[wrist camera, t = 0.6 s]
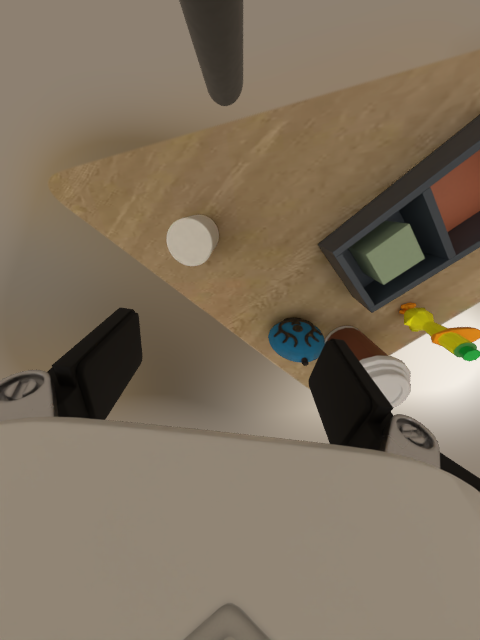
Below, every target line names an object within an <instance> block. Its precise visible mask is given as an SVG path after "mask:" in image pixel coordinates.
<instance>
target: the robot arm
mask: <svg viewBox="0 0 480 640" xmlns="http://www.w3.org/2000/svg"><path fill="white" fill-rule="evenodd" d="M141 362H142V348H141V337H140V326H139V316H138V313H135V311H134V310H133V309H127V308H119V309H118V310H116V311H115V312H114V313H113V314H112V315H111V316H109V317H108V318H107V319H106V320H105V321H104V322H102V323H101V324H100V325H99V326H98V327H96V328H95V329H94V330H93V331H92V332H91V333H89V334H88V335H87V336H86V337H85V338H83V339H82V340H81V341H80V342H79V343H78V344H76V345H75V346H74V347H73V348H72V349H71V350H69V351H68V352H67V353H66V354H65V355H64V356H62V357H61V358H60V359H59V360H58V361H57V362H55V363H54V364H53V365H52V368H51V369H50V370H49V371H48V372H45V371H41V370H28V371H23V372H19V373H16V374H13V375H10V376H8V377H6V378H4V379H2V380H0V640H480V478H478V477H477V476H475V475H473V474H472V473H470V472H469V471H467V470H466V469H464V468H463V467H461V466H460V465H458V464H457V463H455V462H454V461H452V460H451V459H449V458H448V457H446V456H445V455H443V454H442V453H440V451H439V444H438V441H437V440H436V438H435V436H434V435H433V434H432V433H431V432H430V431H429V430H428V429H427V428H426V427H425V426H424V425H423V424H421V423H420V422H418V421H417V420H415V419H413V418H411V417H409V416H406V415H401V414H397V415H394V416H393V414H392V413H391V410H392V409H393V407H392V405H391V404H390V402H389V401H388V400H387V398H386V397H385V396H384V394H383V393H382V392H381V390H380V389H379V387H378V386H377V385H376V383H375V382H374V381H373V379H372V378H371V376H370V375H369V374H368V372H367V371H366V370H365V368H364V367H363V366H362V364H361V363H360V361H359V360H358V359H357V357H356V356H355V355H354V353H353V352H352V351H351V349H350V348H349V346H348V345H347V344H346V342H345V341H344V340H340V339H333V338H332V339H330V340H329V341H326V342H325V344H324V347H323V349H322V351H321V353H320V356H319V358H318V360H317V362H316V365H315V367H314V369H313V371H312V373H311V376H310V378H309V387H310V390H311V392H312V395H313V398H314V401H315V404H316V406H317V409H318V412H319V414H320V417H321V420H322V423H323V426H324V429H325V431H326V434H327V437H328V440H329V442H330V444H325V443H317V442H308V441H299V440H291V439H282V438H273V437H264V436H255V435H246V434H237V433H228V432H219V431H209V430H199V429H190V428H181V427H172V426H162V425H152V424H143V423H133V422H123V421H111V420H105V419H106V417H107V416H108V414H109V413H110V411H111V410H112V408H113V406H114V405H115V403H116V402H117V400H118V399H119V397H120V395H121V394H122V392H123V391H124V389H125V388H126V386H127V384H128V383H129V381H130V380H131V378H132V376H133V375H134V373H135V372H136V370H137V369H138V367H139V366H140V364H141Z"/></svg>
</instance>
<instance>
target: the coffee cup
mask: <svg viewBox="0 0 480 640" xmlns="http://www.w3.org/2000/svg"><path fill="white" fill-rule="evenodd" d="M332 338H333V339H340V340H344V341H345V342H346V344H347V345H348V346H349V348H350V349H351V351H352V352H353V353H354V355H355V356H356V357H357V359H358V360H359V361H360V363H361V364H362V366H363V367H364V368H365V370H366V371H367V372H368V374H369V375H370V376H371V378H372V379H373V381H374V382H375V383H376V385H377V386H378V387H379V389H380V390H381V392H382V393H383V394H384V396H385V397H386V398H387V400H388V401H389V402H390V404H391V405H392V407H393V408H394V407H396V406H398V405H399V404H401V403H402V402H403V401H404V400H406V398H407V397H408V395H409V393H410V388H411V384H410V371H409V369H408V368H407V366H406V365H405V364H404V363H403V362H402V361H401V360H399V359H397V358H394V357H392V356H388V355H387V354H386V353H385V352H383V351H382V350H381V349H380V348H379V347H378V346H376V345H375V344H374V343H373V342H372V341H371V340H370V339H368V338H367V337H366V336H365V335H364V334H363V333H362V332H360V331H359V330H358V329H357V328H355V327H353V326H342V327H338V328H336V329H334V330H333V331H331V332H330V333H329V335H328V336H327V337H326V340H325V342H326V341H329V340H330V339H332Z"/></svg>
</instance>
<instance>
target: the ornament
mask: <svg viewBox="0 0 480 640" xmlns="http://www.w3.org/2000/svg"><path fill="white" fill-rule="evenodd" d="M268 338H269V342H270V345H271V347H272V348H273V349H274V350H275V351H276V352H277V353H278V354H279V355H280V356H282V357H283V358H286V359H288V360H290V361H294V362H302V364H303V365H304V366H306V365H308V362H310V361H313V360H315V359H317V358H318V357H319V356H320V353H321V351H322V349H323V347H324V344H325V340H324V336H323V335H322V333H321V331H320V330H319V329H318V328H317V327H316V326H314V325H313V324H312V323H311V322H309V321H306V320H302V319H300V318H287V319H285V320H284V321H282V322H280V323H278V324H276V325H275V326H274V327H273V328H272V329H271V330H270V332H269V336H268Z"/></svg>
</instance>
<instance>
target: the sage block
mask: <svg viewBox="0 0 480 640" xmlns="http://www.w3.org/2000/svg"><path fill="white" fill-rule="evenodd" d="M348 249H349V250H350V252H351V254H352V255H353V257H354V258H355V260H356V262H357V263H358V265H359V267H360V268H361V270H362V271H363V273H364V274H366V275H367V276H369V277H371V278H373V279H374V280H376V281H378V282H379V283H381V284H383V285H384V284H386V283H388V282H389V281H391V280H392V279H394V278H395V277H397V276H398V275H400V274H402V273H403V272H405V271H406V270H408V269H409V268H411V267H412V266H414V265H416V264H417V263H419V262H420V261H422V260H423V259H425V257H424V255H423V253H422V251H421V249H420V246H419V244H418V242H417V240H416V237H415V235H414V233H413V231H412V229H411V226H410V224H407V223H399V222H391V221H384V222H383V223H381V224H380V225H379V226H377V227H376V228H375V229H373V230H372V231H371V232H369V233H368V234H367V235H365V236H364V237H363V238H361V239H360V240H359V241H357V242H356V243H355V244H353V245H352V246H351V247H349V248H348Z"/></svg>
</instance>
